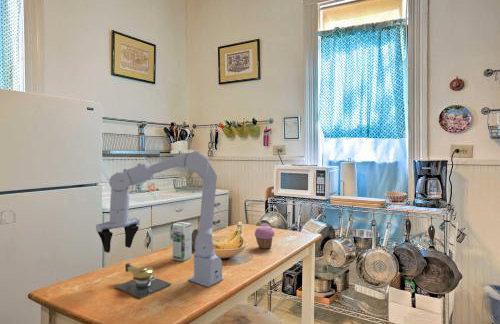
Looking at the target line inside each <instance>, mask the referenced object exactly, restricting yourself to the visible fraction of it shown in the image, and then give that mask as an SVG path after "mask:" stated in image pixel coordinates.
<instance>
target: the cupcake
mask: <svg viewBox="0 0 500 324" xmlns="http://www.w3.org/2000/svg"><path fill="white" fill-rule="evenodd" d="M254 237H255V240H256V242H257V246H258V248H260V249H261V248H262V249H264V250H266V249H270V248H271V247H272V243H273V237H275V230H274V229H273V228H272V227H271V226H269V225H261V226H258V227H257V228H256V230H255V232H254Z"/></svg>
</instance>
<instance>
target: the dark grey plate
mask: <svg viewBox="0 0 500 324" xmlns="http://www.w3.org/2000/svg"><path fill="white" fill-rule="evenodd" d="M170 285H171V286H172V283H171V282H168V281H165V280H163V279H160V278H158V277H156V276H155V277H154V276H153V277H152V278H149V279H146V280H136V279H134V278H132V279H129V280H128V281H126V282H122V283H121V284H120V283H119V284H118V285H115V287H116V288H115V287H114V288H115V289H117V288H118V289H117V290H119V289H120V290H119V291H121V290H122V291H121V292H123V291H124V292H123V293H126V294H128V295H130V296H132V295H133V296H132V297H135V298H137V299H139V300H141V299H143V298H146V297H147V295H148V296H150V295H152V294H155V293H157V292H159V291H162V290H164V289H166V288H168V287H171V286H170ZM163 288H164V289H163ZM161 289H162V290H161ZM156 291H157V292H156ZM154 292H155V293H154ZM149 294H150V295H149ZM145 296H146V297H145Z"/></svg>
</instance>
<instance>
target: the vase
mask: <svg viewBox="0 0 500 324" xmlns="http://www.w3.org/2000/svg"><path fill="white" fill-rule="evenodd" d="M192 230H193V231H192V251H193V252H195V244H196V242H195V239H196V236H197V235H198V232H199V228H197V229H196V228H195V229H192Z"/></svg>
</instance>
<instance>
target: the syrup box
mask: <svg viewBox="0 0 500 324" xmlns="http://www.w3.org/2000/svg"><path fill="white" fill-rule="evenodd" d="M192 227H193V225H192V222H183V221H178V222H175V223H173V224H172V260H173V261H179V262H185V261H187V260H190V259H191V258H192V256H193V254H192V251H193V250H192V232H193V231H192V230H193V229H192Z"/></svg>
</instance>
